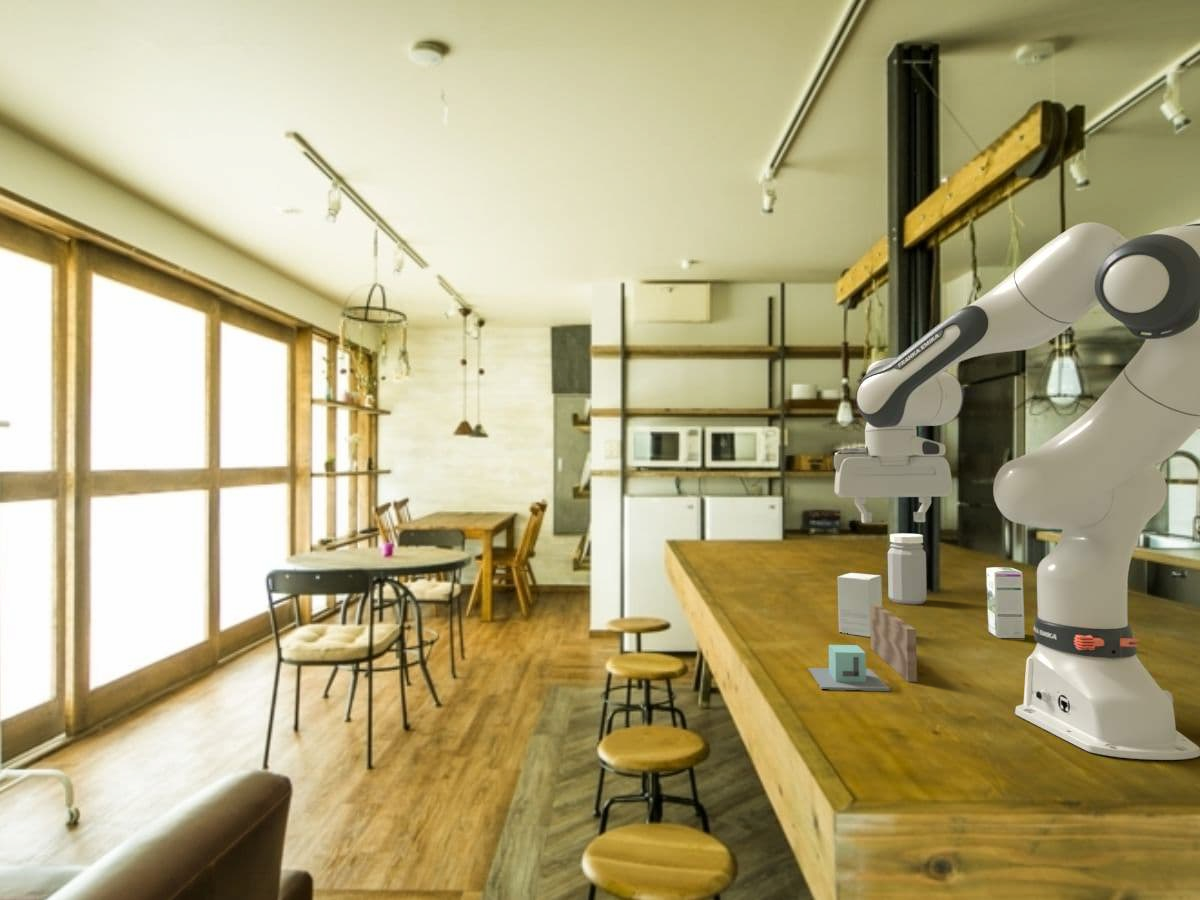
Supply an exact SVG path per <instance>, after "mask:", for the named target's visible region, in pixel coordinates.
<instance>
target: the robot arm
mask: <svg viewBox="0 0 1200 900" xmlns="http://www.w3.org/2000/svg"><path fill="white" fill-rule="evenodd" d="M1099 304H1100V305H1101V307H1102V308H1103V309H1104V310H1105V311H1106V312H1107V313H1108V315H1110V316H1111V317H1113V318H1114V319H1115V320H1117V321H1119V322H1120V323H1121V324H1123V326H1125V327H1126V328H1127V330H1128V331H1129V332H1130V333H1131V334H1132V335H1133V336H1134V337H1136V338H1138V339H1145V341H1144V343H1143V344H1142V346H1141V347H1140V349H1139V350H1138V351H1137V353H1136V354H1135V355H1134V356H1133V357H1132V358H1131V360H1129V362H1128V363H1127V364H1126V365H1125V367H1123V370H1122V371H1121V372H1120V373H1119V374H1118V376H1117V377H1116V378H1115V379H1114V381H1112V383H1111V384H1110V385H1109V386H1108V388H1106V390H1105V391H1104V392H1103V393H1102V394H1101V395H1100V396H1099V398H1098V399H1097V401H1095V403H1094V404H1093V405H1092V406H1091V407H1090V408H1089V409H1087V410H1086V412H1085V413H1084V414H1083V415H1081V416H1080V417H1079V418H1078V419H1076V420H1075V421H1074V422H1072V423H1071V424H1070V425H1069V426H1067V427H1066V428H1065V429H1063V430H1062V431H1060V432H1059V433H1058V434H1056V435H1055V436H1054V437H1052V438H1051V439H1048V440H1047V441H1046V442H1044V443H1043V444H1042V445H1040V446H1038V447H1037V448H1035V449H1034V450H1032V451H1030V452H1028V453H1026V454H1023V455H1022V456H1019V457H1016V458H1014V459H1011V460H1009V461H1007V462H1006V463H1004V464H1003V465H1002V466H1001V467H1000V468H999V470H998V471H997V473H996V475H995V478H994V481H993V493H992V494H993V498H994V499H993V500H994V502H995V504H996V506H997V508H998V510H999V512H1000V513H1001V515H1003V516H1004V517H1005V518H1006V519H1007V520H1008V521H1010V522H1013V523H1015V524H1019V525H1024V526H1028V527H1034V528H1041V529H1049V530H1050V529H1062V531H1061V532H1060V537H1059V540H1058V542H1057V543H1056V545H1055V547H1054V548H1053V549H1052V551H1051V552H1049V553H1048V554H1047V555H1045V557H1044V558H1042V559H1041V560H1040V562H1039V563H1038V566H1037V569H1036V597H1037V598H1036V599H1037V601H1036V604H1037V607H1036V608H1037V615H1036V616H1035V617H1034V620H1033V621H1034V624H1033V632H1034V634H1033V635H1034V640H1035V642H1037V643H1036V645H1035V648H1034V650H1033V651H1032V652H1031V654H1030V655H1029V656H1028V657H1027V659H1026V662H1025V676H1024V677H1025V678H1024V690H1023V691H1024V692H1023V693H1024V694H1023V703H1022V704H1019V705H1016V706H1015V711H1014V715H1016V716H1018V717H1020V718H1022V719H1024V720H1026V721H1028V722H1030V723H1031V724H1033V725H1035V726H1037V727H1039V728H1041V729H1043V730H1045V731H1048V732H1049V733H1051V734H1052V735H1054V736H1057V737H1058V738H1061V739H1063V740H1065V741H1067V742H1069V743H1071V744H1073V745H1074V746H1076V747H1079V748H1081V749H1083V750H1084V751H1086V752H1089V753H1093V754H1097V755H1102V756H1109V757H1116V758H1123V759H1124V758H1125V759H1133V760H1134V759H1137V760H1159V761H1160V760H1161V761H1164V760H1165V761H1167V760H1169V761H1173V760H1174V761H1175V760H1178V761H1179V760H1189V759H1195V758H1198V757H1200V747H1199V746H1198V745H1197V744H1196V743H1194V742H1193V741H1192V740H1190V739H1188V737H1186V736H1185V735H1183V734H1182V733H1180V732H1179V731H1178V730H1177V728H1176V727H1177V726H1176V720H1175V718H1176V717H1175V711H1174V699H1173V695H1172V693H1171V692H1170V691H1169V690H1163V689H1162V688H1161V687H1160V686H1159V685H1158V683H1157V682H1156V680H1155V679H1154V678H1153V677H1152V675H1151V674H1150V673H1149V671H1148V670H1147V668H1145V666H1144V665H1143V664H1142V662H1141V661H1140V660H1139V658H1138V656H1137V654H1138V648H1140V645H1139V644H1136V642H1140V639H1139V638H1135V637H1136V636H1135V635H1134V633H1133V631H1132V626H1131V625H1130V624H1129V623H1128V585H1129V584H1128V579H1129V570H1130V564H1131V560H1132V557H1133V554H1134V551H1135V548H1136V545H1137V543H1138V540H1139V538H1140V536H1141V534H1142V532H1143V530H1144V528H1145V526H1146V525H1147V524H1148V522H1149V521H1150V520H1151V519H1152V518H1153V517H1154V516H1156V515H1157V514H1158V513H1159V512H1160V511H1161V509H1162V508H1163V506H1164V505H1165V502H1166V500H1167V495H1168V487H1167V482H1166V479H1165V477H1164V474H1163V473H1162V471H1161V470H1159V468H1158V467H1157V466H1156V465H1157V464H1159V463H1162V462H1163V461H1165V460H1167V459H1168V458H1170V457H1171V456H1173V455H1174V454H1175V453H1176V452H1177V451H1178V450H1179V449H1180V448H1181V447H1182V446H1183V445H1184V444H1185V443H1186V442H1187V441H1188V439H1190V438H1191V436H1192V435H1193V434H1195V432H1196V431H1197V430H1198V429H1199V428H1200V223H1192V224H1186V225H1180V226H1178V225H1177V226H1171V227H1166V228H1162V229H1161V228H1160V229H1159V230H1155V231H1153V232H1150V233H1148V234H1144V235H1141V236H1140V235H1139V236H1137V237H1135V238H1132V239H1127V238H1126V237H1124V236H1123V235H1122V234H1121V233H1120V232H1119V231H1117V230H1116V229H1115V228H1112V227H1111V226H1108V225H1106V224H1103V223H1099V222H1094V221H1092V222H1089V221H1088V222H1082V223H1077V224H1076V225H1074V226H1071V227H1069V228H1068V229H1066V230H1065V231H1063V232H1062V233H1061V234H1059V235H1057V236H1056V237H1054V238H1053V239H1051V240H1050V241H1049V242H1047V243H1046V244H1044V245H1043V246H1042V247H1041V248H1040V249H1038V250H1037V251H1035V252H1034V253H1033V254H1031V256H1029V257H1028V258H1027V259H1026V260H1025V261H1024V262H1022V263H1021V264H1020V265H1019V266H1018V267H1017V268H1016V269H1015V270H1014V271H1012V273H1010V274H1009V275H1008V276H1007V277H1006V278H1005V279H1003V281H1001V282H1000V283H998V284H997V285H996V286H994V287H993V288H992V289H991V290H989V291H988V292H987V293H985V294H984V295H983V296H980V297H979V298H978V299H976V300H975V301H973V302H972V303H970V304H968V305H966V306H965V307H963V308H961V309H959V310H958V311H956V312H955V313H953V314H951V315H950V316H949V317H947V318H946V319H944V320H943V321H941V322H939V324H937V325H936V326H935V327H933V328H932V329H931V330H929V331H928V332H927V333H926V334H925V335H923V336H922V337H921V338H920V339H918V340H917V341H915V342H914V343H913V344H912V345H911V346H908V348H906V350H904V351H903V352H902V353H900V354H899V355H897V356H890V357H885V358H881V359H878V360H875V361H874V362H872V363H871V364H870V365H869V366H868V368H867V369H866V373H865V375H864V376H863V377H862V379H861V381H860V382H859V384H858V386H857V389H856V393H855V404H856V407H857V410H858V412H859V414H860V416H862V418H863V419H864V420H865V421H866V423H865V424H866V425H865V429H864V440H865V441H864V442H865V447H842V448H841V449H840V450H837V452H835V453H834V456H833V467H834V469H835V476H834V494H835V495H836V496H837V497H838V498H842V499H847V498H849V499H850V498H853V499H854V505H855V506H856V508H857V509H858V511H859V513H860V515H861V516H860V517H861V518H860V519H861V521H860V522H861V523H862V524H864V523H866V524H867V523H868V524H869V523H870V524H871V523H873V513H872V512H868V510H866V507H865V506H864V505H863V504H865V505H866V503H867V502H866V501H867V498H909V497H910V498H918V502H919V503H921V505H920V507H919V508H918V511H913V515H912V516H913V522H915V523H925V522H926V513H927V511H928V510H929V508H930V506H931V504H932V498H933V497H936V498H937V497H948V496H949V495H951V492H952V491H953V484H952V483H953V482H952V472H951V468H950V464H949V462H948V460H947V459H946V458H945V457H944V455H945V454H946V446H945V445H944V443H942V442H937V441H934V440H931V439H927V438H924V437H920V436H918V435H917V434H918V433H917V427H922V426H923V427H930V426H932V427H935V426H942V425H946V424H949V423H951V422H953V421H954V420H955V419H956V418H957V417H958V415H959V414H960V412H961V410H962V408H963V403H964V391H963V387H962V384H961V383H960V381H959V380H958V378H957V377H956V376H955V375H954V374H952V373H949V372H946V371H947V370H948V369H950V368H951V367H953V366H954V365H956V364H958V363H960V362H963V361H965V360H968V359H971V358H974V357H979V356H985V355H991V354H998V353H1007V352H1016V351H1025V350H1030V349H1034V348H1037V347H1039V346H1041V345H1043V344H1045V343H1047V342H1049V341H1051V340H1054V338H1056V337H1058V336H1060V335H1061V334H1063V332H1065V331H1066V330H1068V329H1069V328H1070V327H1071V326H1073V325H1074V324H1075V323H1077V322H1078V321H1079V320H1080V319H1081V318H1083V317H1084V316H1085V315H1086V314H1088V313H1089V312H1090V311H1091V310H1092V309H1094V308H1095V307H1096V306H1098V305H1099ZM1142 333H1145V334H1142Z"/></svg>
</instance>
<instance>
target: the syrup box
mask: <svg viewBox="0 0 1200 900" xmlns="http://www.w3.org/2000/svg"><path fill="white" fill-rule="evenodd" d="M985 575H986V599H987V600H986V601H987V625H988V626H987V629H988V633H989V634H991V636H993V637H995V639H996V638H997V639H1001V638H1025V637H1026V636H1025V607H1024V606H1025V604H1024V601H1025V600H1024V583H1023V582H1024V580H1023V579H1024V578H1023V571H1021V570H1019V569H1017V568H1016V569H1015V568H1013V567H1004V566H997V567H996V566H994V567H986V574H985Z"/></svg>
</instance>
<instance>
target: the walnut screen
mask: <svg viewBox="0 0 1200 900" xmlns="http://www.w3.org/2000/svg"><path fill="white" fill-rule="evenodd" d="M870 627H871V637H870V649H871V650H872V651H873V652H874V653H875V654H877V655H878V656H879V657H880V658H881V659H882V660H883V661H885V662H886V664H888V666H890V668H892V669H893V670H894V671H896V672H897V673H898V674H899V675H900V676H901V677H902V678H903V679H904V680H906V682H911V683H914V682H915V683H918V673H917V671H918V670H917V669H918V668H917V666H918V665H917V663H918V662H917V628H914V627H913V626H912V625H910V624H909V623H907V622H905V621H904V620H903V619H901V618H899V617H898V616H897V615H895V614H893V613H892V612H890V611H889V610H887V609H886V608H884V607H883V606H882V607H881V606H880V605H878V604H870Z"/></svg>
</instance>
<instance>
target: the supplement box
mask: <svg viewBox="0 0 1200 900" xmlns="http://www.w3.org/2000/svg"><path fill="white" fill-rule="evenodd" d="M836 578H837V598H838V599H837V605H838V607H837V608H838V630H839V631H838V633H839V632H842V633H841V634H847V633H848V634H847V635H853V636H860V637H867V638H871V627H870V604H878V605H880V606H881V607H883V604H882V603H883V597H882V596H883V595H882V594H883V593H882V591H883V590H882V575H880V574H868V573H860V572H859V573H857V572H849V573H845V574H842V575H841V574H840V575H839V576H836Z"/></svg>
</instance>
